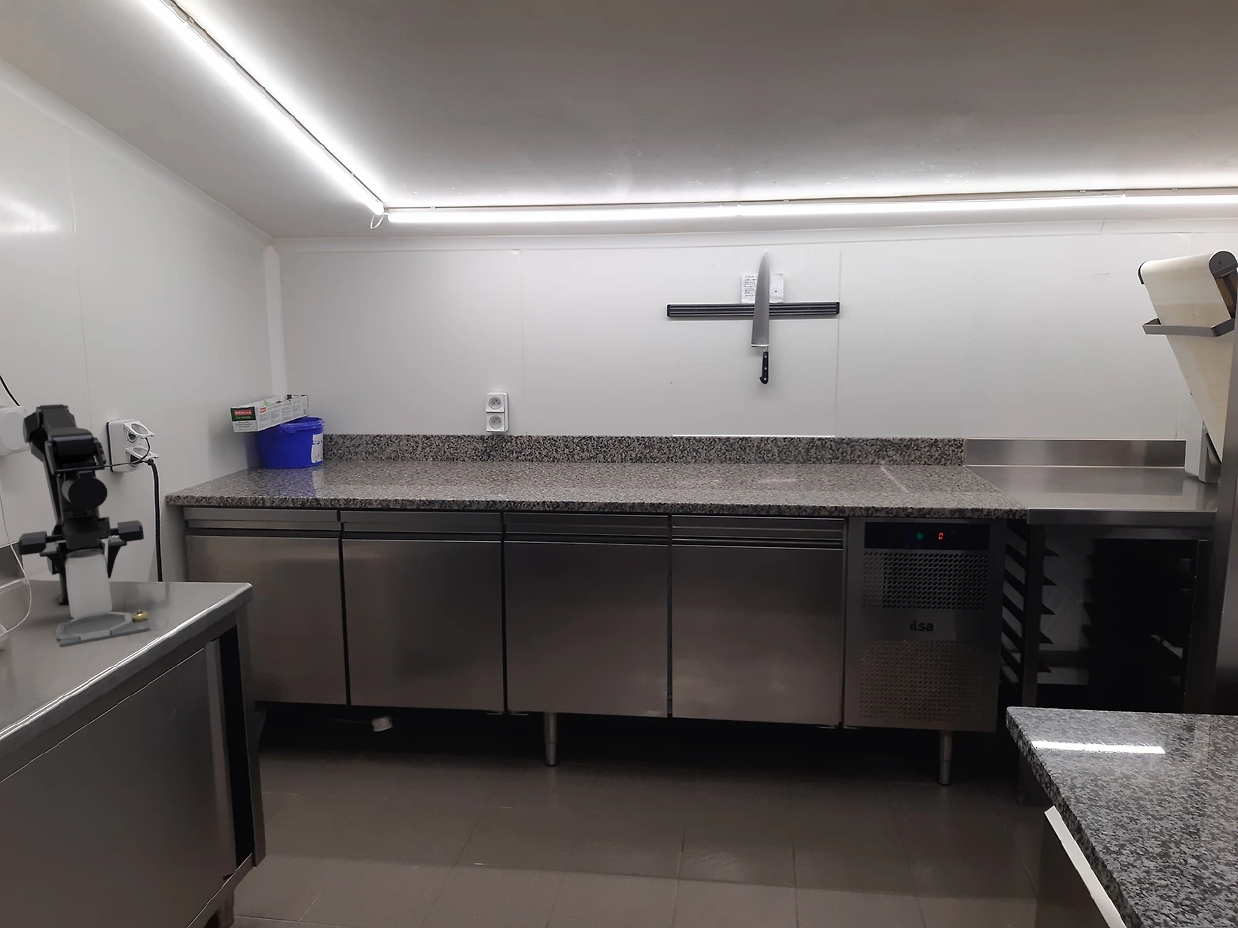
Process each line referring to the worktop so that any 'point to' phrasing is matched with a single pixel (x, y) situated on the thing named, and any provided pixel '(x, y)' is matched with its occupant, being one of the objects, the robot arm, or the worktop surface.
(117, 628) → the socket
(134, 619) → the brass round knob
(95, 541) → the robot arm
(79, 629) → the carrier plate
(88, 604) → the can
